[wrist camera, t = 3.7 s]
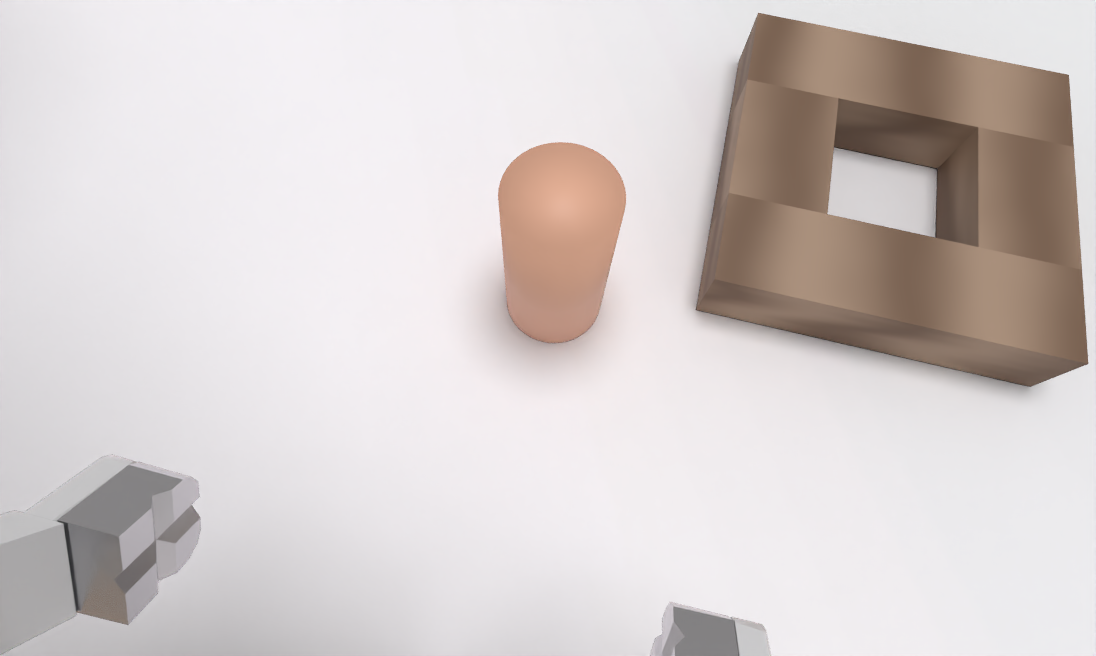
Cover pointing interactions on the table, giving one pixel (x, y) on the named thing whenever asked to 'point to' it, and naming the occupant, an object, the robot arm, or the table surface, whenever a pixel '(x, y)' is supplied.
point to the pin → (558, 237)
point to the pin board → (889, 254)
